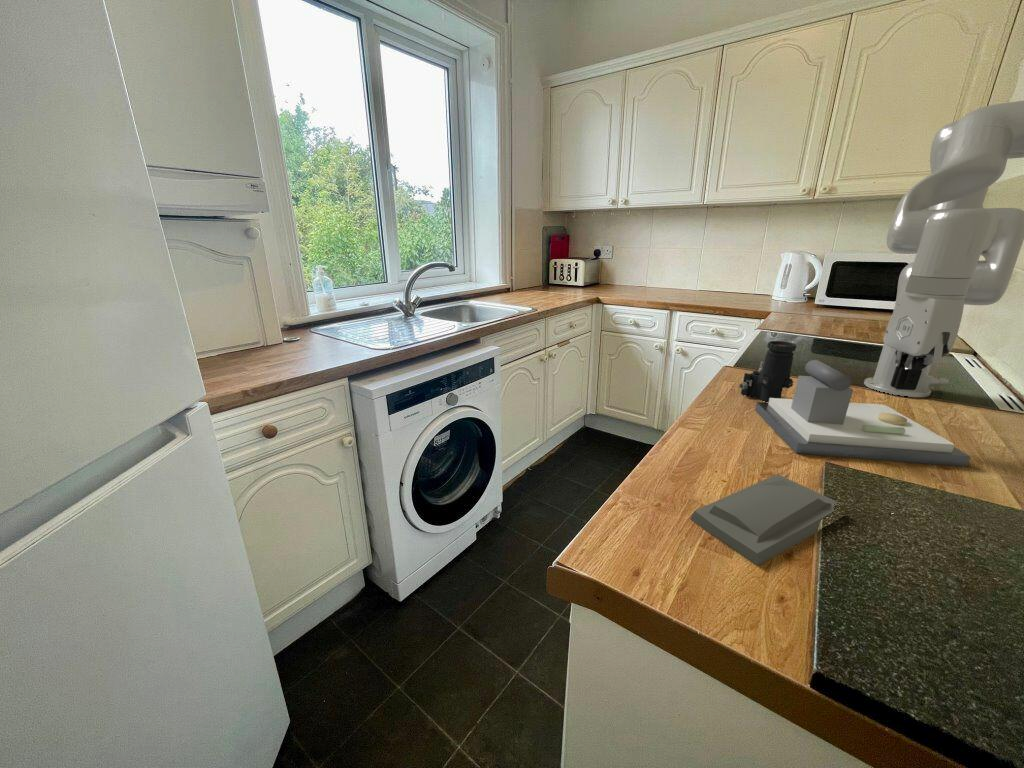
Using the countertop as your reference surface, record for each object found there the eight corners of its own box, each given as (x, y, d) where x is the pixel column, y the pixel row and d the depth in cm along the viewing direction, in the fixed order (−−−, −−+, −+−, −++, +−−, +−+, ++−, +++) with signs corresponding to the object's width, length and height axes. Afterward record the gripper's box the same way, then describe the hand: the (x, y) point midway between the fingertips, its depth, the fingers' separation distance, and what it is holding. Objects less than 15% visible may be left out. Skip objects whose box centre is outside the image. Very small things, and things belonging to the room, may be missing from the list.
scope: (766, 336, 100) (810, 345, 92) (755, 389, 105) (796, 402, 96) (745, 340, 96) (790, 349, 88) (735, 395, 101) (776, 409, 93)
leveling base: (887, 418, 88) (890, 410, 87) (966, 466, 69) (970, 456, 68) (754, 410, 92) (756, 401, 91) (795, 453, 74) (798, 443, 73)
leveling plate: (882, 411, 86) (899, 358, 83) (951, 452, 70) (977, 388, 66) (768, 404, 90) (779, 353, 86) (807, 441, 73) (824, 380, 70)
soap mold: (847, 519, 57) (853, 498, 56) (757, 571, 48) (763, 546, 47) (773, 483, 66) (778, 463, 65) (686, 521, 57) (689, 499, 56)
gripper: (882, 282, 78) (855, 374, 84) (944, 293, 64) (907, 402, 70) (928, 282, 76) (898, 376, 83) (1002, 293, 62) (959, 405, 69)
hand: (902, 388), depth 76 cm, fingers closed
